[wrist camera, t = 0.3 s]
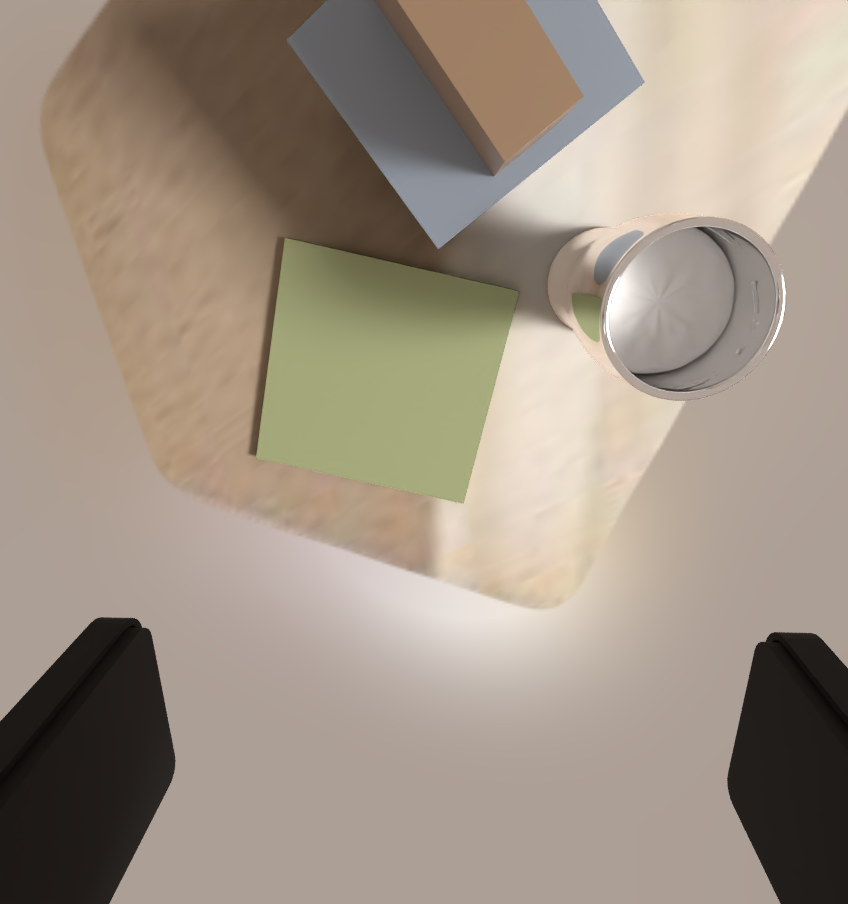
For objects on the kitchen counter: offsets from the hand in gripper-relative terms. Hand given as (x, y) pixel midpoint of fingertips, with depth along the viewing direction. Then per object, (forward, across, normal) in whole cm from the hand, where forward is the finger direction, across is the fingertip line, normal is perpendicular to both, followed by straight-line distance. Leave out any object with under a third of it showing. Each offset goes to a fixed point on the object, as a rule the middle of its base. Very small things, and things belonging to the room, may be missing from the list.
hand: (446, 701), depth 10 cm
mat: (+30, +4, +2) cm, 30 cm away
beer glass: (+30, -9, -4) cm, 32 cm away
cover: (+30, 0, -13) cm, 33 cm away
